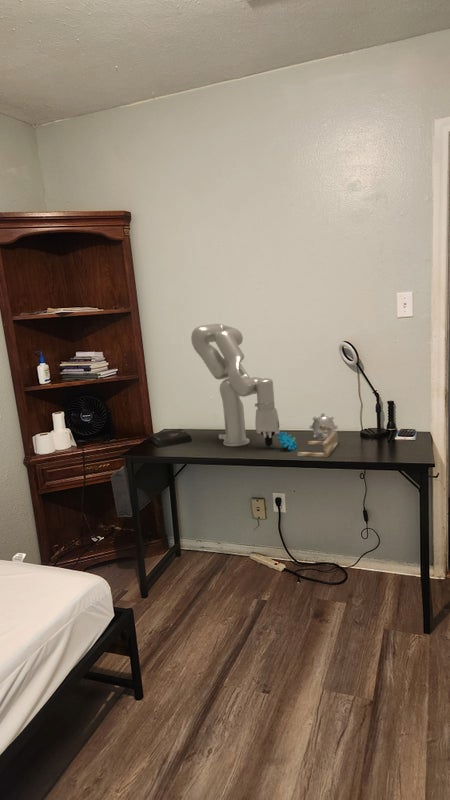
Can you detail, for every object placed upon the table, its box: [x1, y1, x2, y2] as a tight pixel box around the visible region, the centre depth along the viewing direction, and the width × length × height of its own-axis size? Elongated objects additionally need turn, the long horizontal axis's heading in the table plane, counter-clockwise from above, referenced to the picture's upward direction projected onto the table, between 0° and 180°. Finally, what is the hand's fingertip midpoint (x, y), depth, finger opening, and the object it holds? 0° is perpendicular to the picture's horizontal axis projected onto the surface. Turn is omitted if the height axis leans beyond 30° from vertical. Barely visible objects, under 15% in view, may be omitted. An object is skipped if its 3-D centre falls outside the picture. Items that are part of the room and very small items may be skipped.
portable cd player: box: [149, 428, 193, 448], centre depth 262 cm, size 16×17×4 cm
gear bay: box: [296, 430, 338, 458], centre depth 225 cm, size 13×20×6 cm, turn 156°
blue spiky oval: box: [277, 431, 298, 451], centre depth 231 cm, size 11×6×10 cm
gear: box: [309, 412, 339, 441], centre depth 235 cm, size 12×3×13 cm, turn 66°
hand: (269, 445), depth 234 cm, fingers closed
